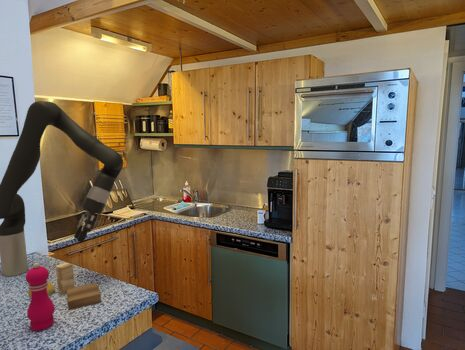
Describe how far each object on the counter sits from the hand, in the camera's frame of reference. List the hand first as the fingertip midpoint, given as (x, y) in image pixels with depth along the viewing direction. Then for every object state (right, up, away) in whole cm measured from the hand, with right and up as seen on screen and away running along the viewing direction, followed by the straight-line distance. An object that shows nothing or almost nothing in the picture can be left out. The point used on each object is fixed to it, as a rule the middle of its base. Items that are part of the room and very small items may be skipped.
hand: (78, 240), depth 124 cm
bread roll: (-12, -19, -3) cm, 23 cm away
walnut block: (+6, -19, -8) cm, 22 cm away
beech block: (-3, -18, -2) cm, 19 cm away
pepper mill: (0, -22, -23) cm, 32 cm away
